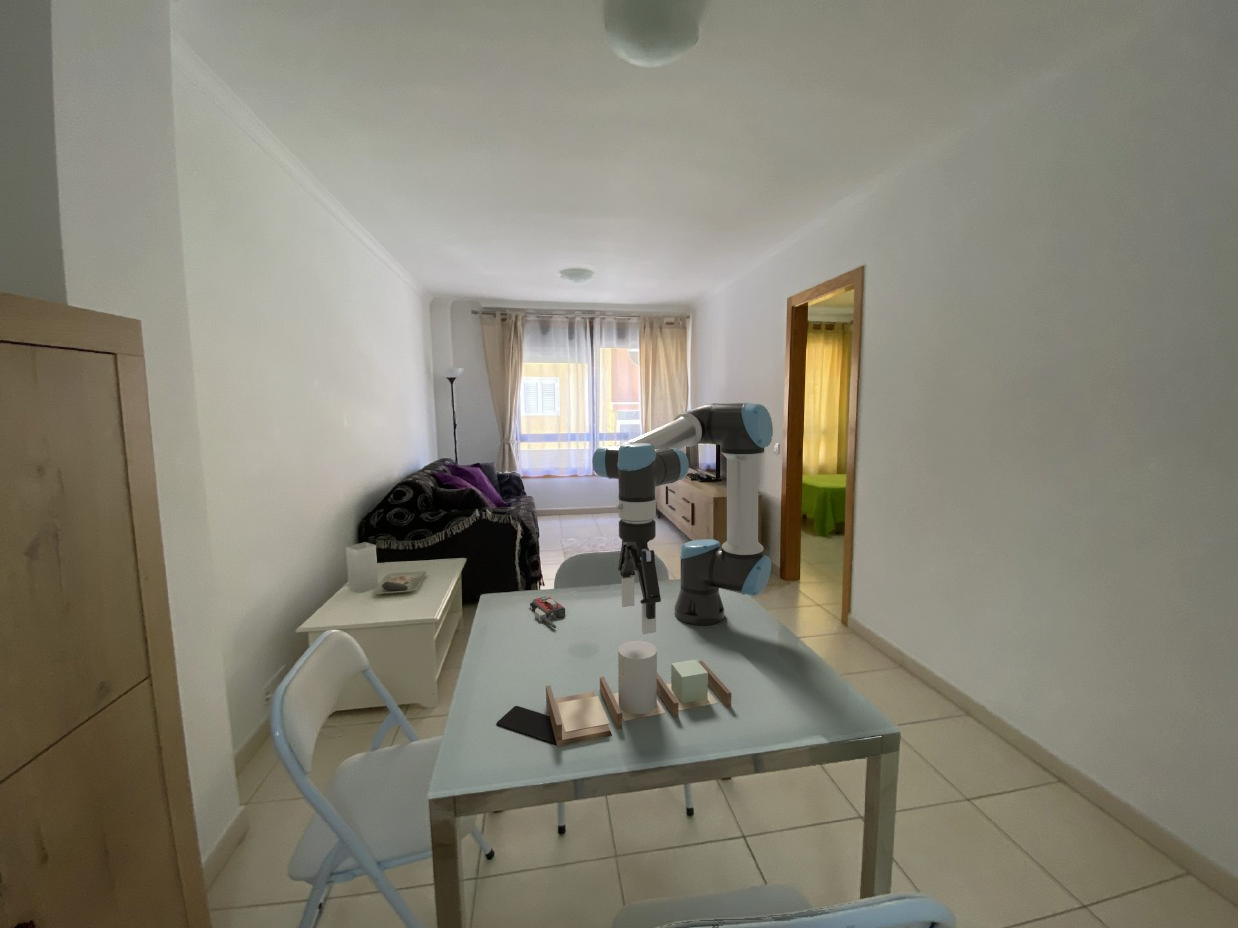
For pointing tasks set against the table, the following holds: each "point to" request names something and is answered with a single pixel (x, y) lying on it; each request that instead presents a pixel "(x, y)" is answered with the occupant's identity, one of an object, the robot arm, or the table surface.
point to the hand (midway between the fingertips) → (637, 618)
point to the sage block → (689, 681)
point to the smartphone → (529, 724)
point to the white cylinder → (637, 677)
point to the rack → (615, 709)
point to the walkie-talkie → (547, 609)
